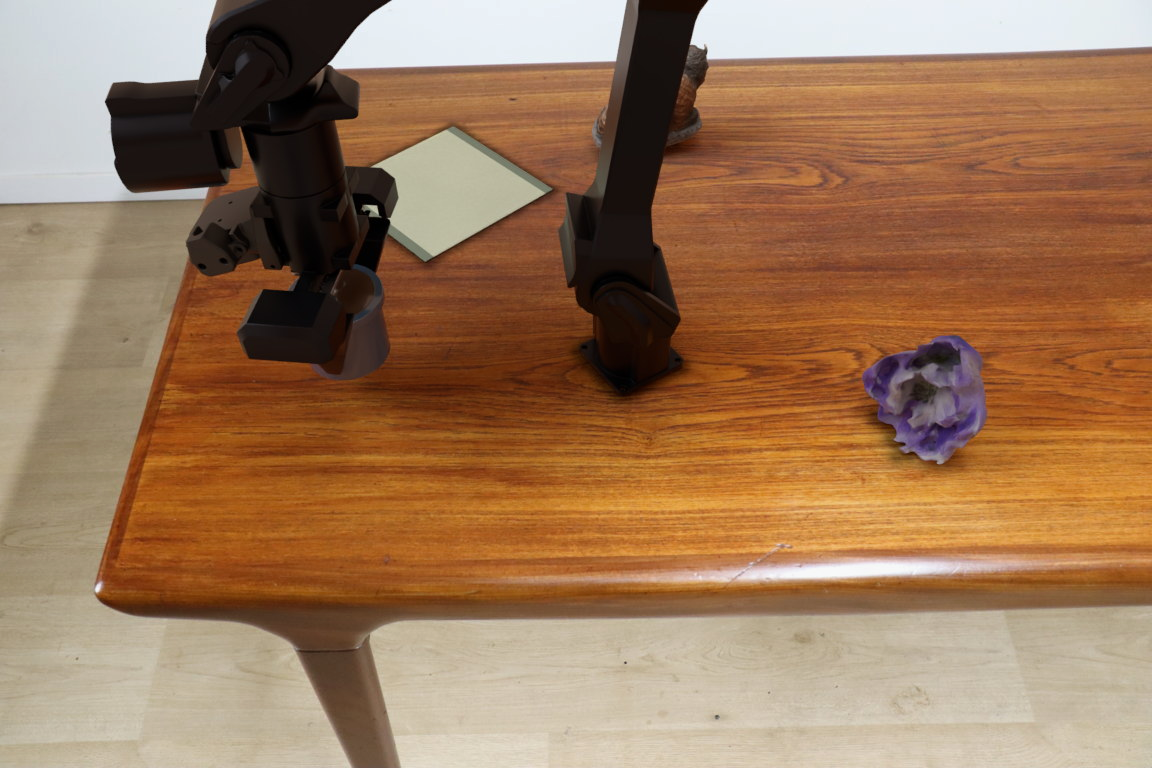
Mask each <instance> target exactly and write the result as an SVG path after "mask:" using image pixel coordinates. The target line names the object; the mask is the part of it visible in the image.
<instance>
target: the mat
mask: <svg viewBox="0 0 1152 768" xmlns="http://www.w3.org/2000/svg"><path fill="white" fill-rule="evenodd" d="M371 167H376V168H382V169H384V170H385V171H386V172H388V173H389V174H390V175H391V176H393V177H394V178H395V181H396V186H397V192H398V197H399V198H398V201H397V203H396V206H395V209H394V211H393V214H392V216H391V218H388V219H389V220H390V222H391V225H390V228H389V231H388V234H387V235H389V236H390V237H392V238H393V239H394V240H396V241H397V243H399V244H401V246H403V247H405V248H406V249H407V250H409V251H410V252H411V253H412V254H414V256H416V257H417V258H419V259H420V260H421V261H423V262H424V263H426V262H428V261H430V260H432V259H434V258H435V257H437V256H439V255H440V254H442V253H444V252H446V251H448V250H449V249H451V248H453V247H455V246H456V245H458V244H460V243H462V242H464V241H465V240H467V239H469V238H471V237H473V236H474V235H476V234H478V233H479V232H482V231H483V230H485V229H486V228H488V227H490V226H492V225H494V224H495V223H497V222H499V221H501V220H502V219H504V218H506V217H507V216H510V215H511V214H513V213H514V212H516V211H519V210H520V209H522V208H524V207H525V206H527V205H529V204H531V203H533V202H534V201H536V200H537V199H540V198H541V197H544V195H546V194H548V193H550V192H552V191H553V190H554V189H553V188H552V187H550V186H549V185H547V184H546V183H544V182H543V181H541V180H540V179H537V178H536V177H535V176H533V175H532V174H530V173H528V172H526V171H525V170H524V169H522V168H520V167H519V166H518V165H516V164H514V163H513V162H511V161H509V160H508V159H506V158H505V157H503V156H502V155H500V154H498V153H497V152H495V151H494V150H492V149H491V148H489V147H487V146H485V145H484V144H482V143H481V142H479V141H478V140H476V139H475V138H473V137H472V136H470V135H468V134H467V133H466V132H464V131H462V130H460V129H459V128H457V127H456V126H453V125H452V126H451V127H449V128H447V129H444V130H443V131H441V132H439V133H437V134H435V135H432V136H430V137H429V138H426V139H424V140H423V141H420V142H418V143H416V144H414V145H412V146H410V147H408V148H406V149H404V150H402V151H400V152H398V153H396V154H394V155H393V156H389V157H388V158H386V159H384V160H382V161H380V162H378V163H376V164H374V165H372V166H371ZM365 210H370V211H371V215H372V217H381V216H379V214H378V209H377V206H373V205H365Z"/></svg>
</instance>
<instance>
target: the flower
mask: <svg viewBox="0 0 1152 768" xmlns="http://www.w3.org/2000/svg"><path fill="white" fill-rule="evenodd" d="M983 364H984V359H983V356H982V355H981V354H980V352H979V351H978V350H977V349H975V348H974V347H973V346H972V345H971V344H970V343H968V342H967V341H966V340H965V338H963V337H961V336H960V335H957V334H951V335H938V336H936V337H934V338H932V339H931V341H930V342H927V343H924V344H918V345H917V350H905V351H900V352H897V353H893V354H890V355H886V356H884V357H883V358H881V359H880V360H878V361H876V363H874V364H872V365H871V366H870V367H868V368H866V369H865V370H864V371H863V372H862V375H861V381H862V383H863V389H864V391H865V393H866V394H867V395H868V396H869V397H870V398H871V399H872V400H873V399H874V401H875V402H876V403H877V404H878V409H877V420H878V421H879V422H882V423H884V424H887V425H892V426H893V428H894V430H895V431H896V435H895V437H894V438H893V441H894V442H896V443H904V444H905V445H903V446H899V450H900V451H901V453H903V454H908V453H911V452H913V453H915V454H916V455H917V456H918V457H919V458H920V459H921V460H922V461H924V462H927V461H936V464H938V465H942V464H944V463H946V462H947V461H948V460H950V459H951V457H952V456H953V455H954V454H955V452H956V450H957V449H961V450H962V449H963V448H964V447H965V446H966V445H967V443H968V442H969V441H970V440H972V439H973V438H975V437H976V436H977V435H978V434H979V433H980V432H981V431H982V430H983V428H984V426H985V424H986V422H987V418H988V409H987V403H986V389H985V384H984V380H983V377H982V375H981V373H982V370H983Z"/></svg>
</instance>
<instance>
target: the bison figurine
mask: <svg viewBox="0 0 1152 768" xmlns="http://www.w3.org/2000/svg"><path fill="white" fill-rule="evenodd" d="M703 47H704V48H701V47H698V46H697V45H696V44H690V48H689V52H688V56H687V60H686V64H685V69H684V73H683V77H682V81H681V86H680V90H679V94H678V98H677V103H676V107H675V111H674V115H673V119H672V124H671V128H670V132H669V136H668V141H667V145H666V147H670V146H673V145H676V144H679V143H682V142H684V141H687V140H689V139H692V138H694V137H695V135H697V133H699V131H701V130H702V128H703V121H702V120H701V115H700V111H699V110H698V108H697V107H695V103H696V100H697V91H698V89H699V88H700V87H701V86H702V85H703V84H704V82H705V81H706V75H707V72H708V69H710V65H709V62H708V61H707V60H708V51H709V50H708V45H707V44H706V43H704V44H703ZM608 103H609V101H608V102H607V103H606V105H604V106H602V108H601V109H600V111H599V113H598V116H597V117H596V119H595V121H594V122H593V125H592V128H591V136H592V140H593V142H594V144H595V145H596V147H597V149H599V150H600V148H601V142H602V137H603V131H604V125H605V120H606V114H607V109H608Z"/></svg>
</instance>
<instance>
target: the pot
mask: <svg viewBox="0 0 1152 768" xmlns="http://www.w3.org/2000/svg"><path fill="white" fill-rule="evenodd" d="M298 279H299V277H297V278H296V279H295V280H294V281H293V282H292V283H291V284H290V286H289V287H288V289H287V291H293V290H294V287H295V285H296V283H297V281H298ZM333 296H335V297H336V298H337V300H338V301H339V302H340V303H342V304H343V306H344V309H345V313H354V320H353V325H352V330H351V334H350V338H349V343H348V348H347V353H346V357H345V362H344V366H343V370H342V373H341V374H340V375H333V374H327V373H326V372H325V371H324V370H323V369H322V368H321V367H320V366H319V365H318V364H309V365H310V368H311V369H312V370H313V371H314V372H315V373H316V374H318V375H319V376H321V377H323V378H326V379H328V380H332V381H341V382H343V381H352V380H357V379H361V378H364V377H366V376H368V375H370V374H372V373H374V372H375V371H377V370H378V369H379V368H380V367H381V366H383V364H384V363H385V362H386V361H387V359H388V357H389V355H390V352H391V341H390V335H389V331H388V327H387V323H386V317H385V314H384V309H383V306H384V303H385V298H386V295H385V289H384V285H383V281H382V280H381V278H380V276H379V275H378V274H377V273H375V272H373V271H372V270H370V269H369V268H367V267H364V266H361V265H358V264H354V265H353V268H352V270H343V271H342V274H341V276H340V279H339V281H338V283H337V286H336V288H335V290H334V293H333Z"/></svg>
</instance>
